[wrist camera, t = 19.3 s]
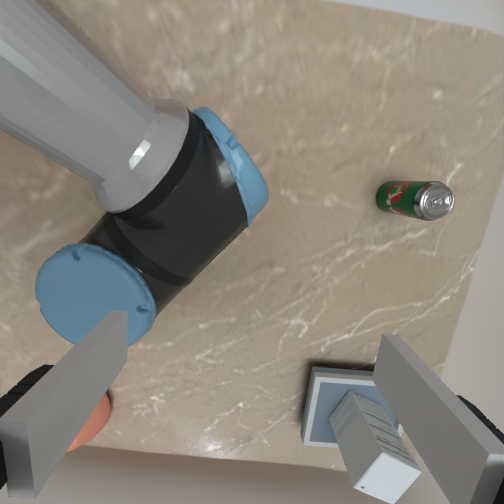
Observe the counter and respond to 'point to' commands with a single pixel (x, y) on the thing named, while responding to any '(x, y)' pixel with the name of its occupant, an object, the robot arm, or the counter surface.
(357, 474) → the supplement box
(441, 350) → the counter surface
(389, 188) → the soda can
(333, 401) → the shallow rimmed tray
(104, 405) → the sugar bowl
